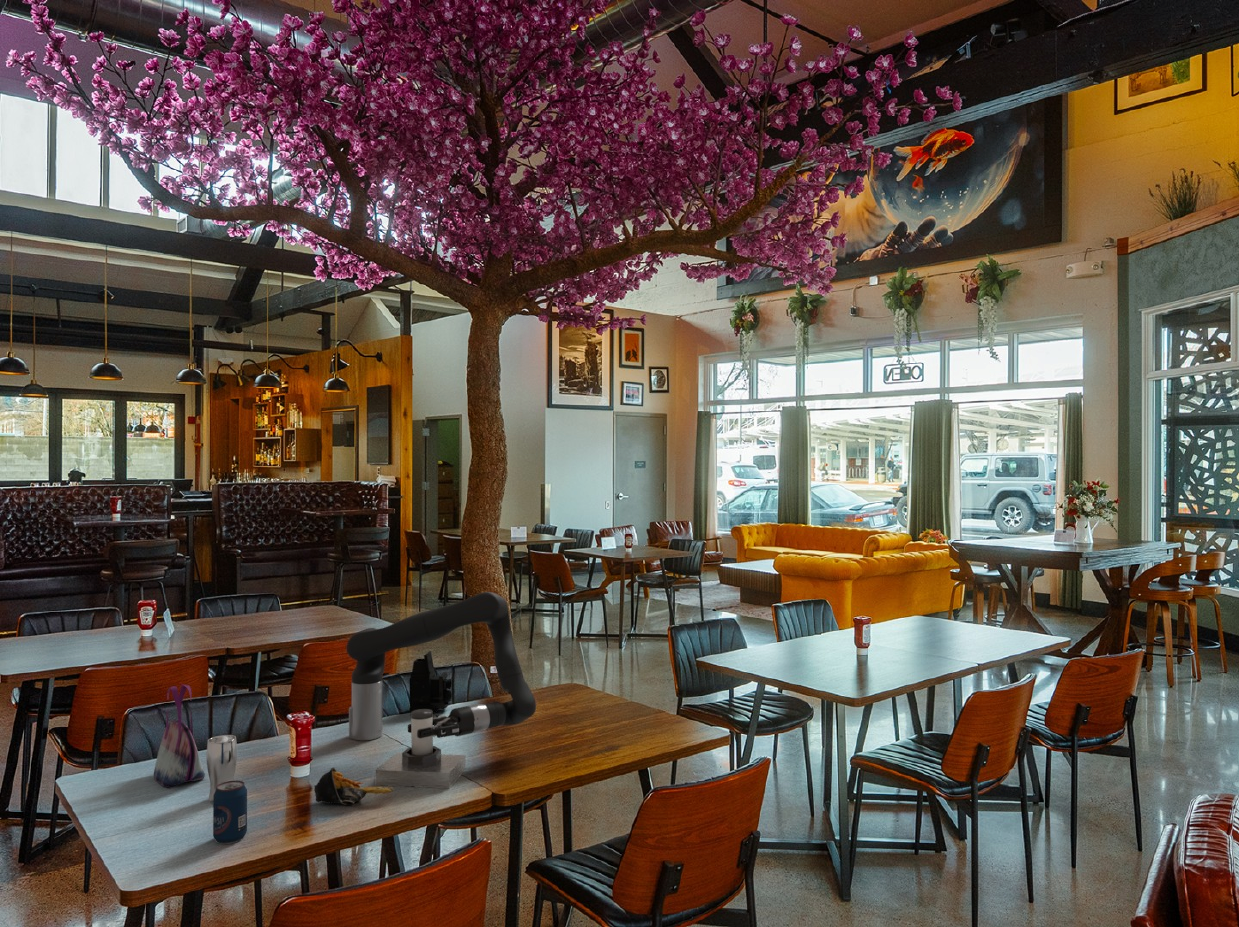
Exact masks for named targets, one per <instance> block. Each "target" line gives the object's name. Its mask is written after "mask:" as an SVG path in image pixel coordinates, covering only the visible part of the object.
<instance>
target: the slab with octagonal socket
mask: <svg viewBox="0 0 1239 927" xmlns="http://www.w3.org/2000/svg"><path fill="white" fill-rule="evenodd" d="M466 756H467V755H465V754H443V753H442V749H441V748H439V747H438V746H435V745H433V754H429V755H424V756H412V747H407V748H406V749H405V750H404V751H403V752H395V753H394V754H393V755H392V756H391V757H389V758H388V759H387V760H386V761H384V762H383V763H382V764H381V765H379V767H377V768H376V769H375V786H378V787H386V786H390V787H403V786H414V787H413V788H427V787H431V789H450V788H452V786H453V785H454V784H455V782H456V781H457V780H459V778H460V777H461V776H462V774H463V773H465V771H466V769H467V767H466V763H467V760H466V758H467V757H466ZM452 784H453V785H452Z"/></svg>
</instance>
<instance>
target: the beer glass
mask: <svg viewBox="0 0 1239 927" xmlns="http://www.w3.org/2000/svg"><path fill="white" fill-rule="evenodd" d="M237 744H238V743H237V737H236V735H233V734H223V735H217V736H213V737H211V738H209V739H207V745H206V765H207V766H206V767H207V773H208V778H209V784H210V789H209V793H208V794H209V795H208V802H209V803H211V802H213V795H214V793H215V791H216V787H217V785H219V784H221V783H224V782H228V781H235V780H234V777H235V772H236V767H237V762H238V745H237Z"/></svg>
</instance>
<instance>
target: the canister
mask: <svg viewBox="0 0 1239 927" xmlns="http://www.w3.org/2000/svg"><path fill="white" fill-rule="evenodd" d="M433 715H434V713H433V711H432V710H430V709H419V710H414V711H412V712H411V713H410V724H411V733H410V734H411V736H410V738H411V741H410V742H411V748H412V756H424V755H429V754H433V746H434V739H433V738H434V737H433V736H432V735H431V736H429V737H424V738H418V737H417V731H418V730H419V729H424V728H428V727H431V729H432V727H433V726H434V725H433Z"/></svg>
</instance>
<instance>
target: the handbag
mask: <svg viewBox="0 0 1239 927" xmlns="http://www.w3.org/2000/svg"><path fill="white" fill-rule="evenodd" d="M187 690H188V692H189V697H190V700H192V689H191V686H190V685H186V684H181V686H180V691H179V690H178V687H177V686H175V685H174V686H170V687H169V688H167V692H166V693H167V694H166V696H167V699H169V695H170V691H171V694H172V698H173V701H174V704H175V707H176V710H177V720H172V721H170V722H169V709H167V712H166V727H165V728H164V732H163V735H162V738H161V740H160V741H161V742H160V746H159V748H158V752H157V756H156V761H155V766H154V769H153V770H154V771H153V779H154V780H155V781H156V782H158V784H160V785H161V784H162V785H161V786H162V787H165V788H169V787H173V786H177V785H179V784H183V783H187V782H194V781H199V780H203V779H205V778H206V775H205V774H206V773H205V770H204V768H203V764H202V762H201V757H200V755H199V754H200V753H199V751H198V747H197V745H196V741H195V739H194V728H193V726H194V724H193V714H192V713H193V712H192V709H190V728H189V727H188V725H187V724H186V723H185V722H184V721H182V704H183V699H184V698H185V695H186V691H187ZM178 691H179V692H178Z"/></svg>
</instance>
